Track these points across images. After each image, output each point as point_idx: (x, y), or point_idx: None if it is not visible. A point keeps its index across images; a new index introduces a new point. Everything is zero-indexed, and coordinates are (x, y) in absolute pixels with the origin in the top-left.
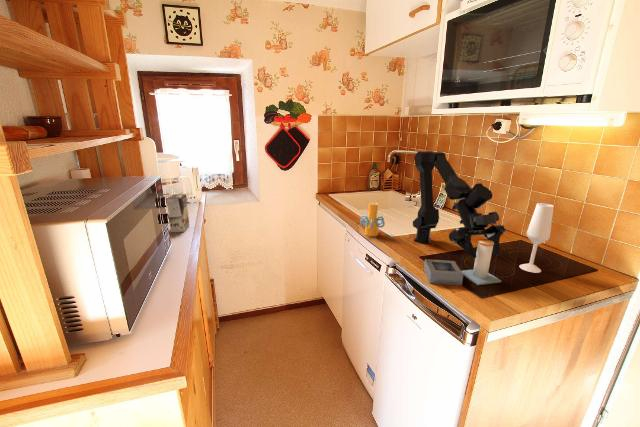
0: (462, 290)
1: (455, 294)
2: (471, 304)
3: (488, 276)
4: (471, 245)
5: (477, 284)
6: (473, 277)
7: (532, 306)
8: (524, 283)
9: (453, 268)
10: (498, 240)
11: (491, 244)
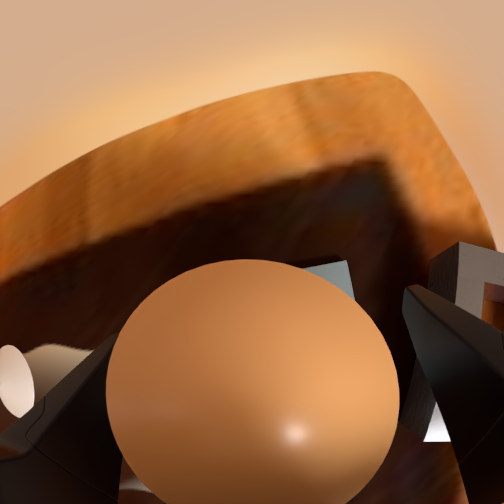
0: (439, 219)
1: (471, 192)
2: (432, 128)
3: None
4: (500, 350)
5: (346, 267)
6: None
7: (210, 109)
8: (99, 270)
9: None
10: (18, 427)
11: (221, 262)
